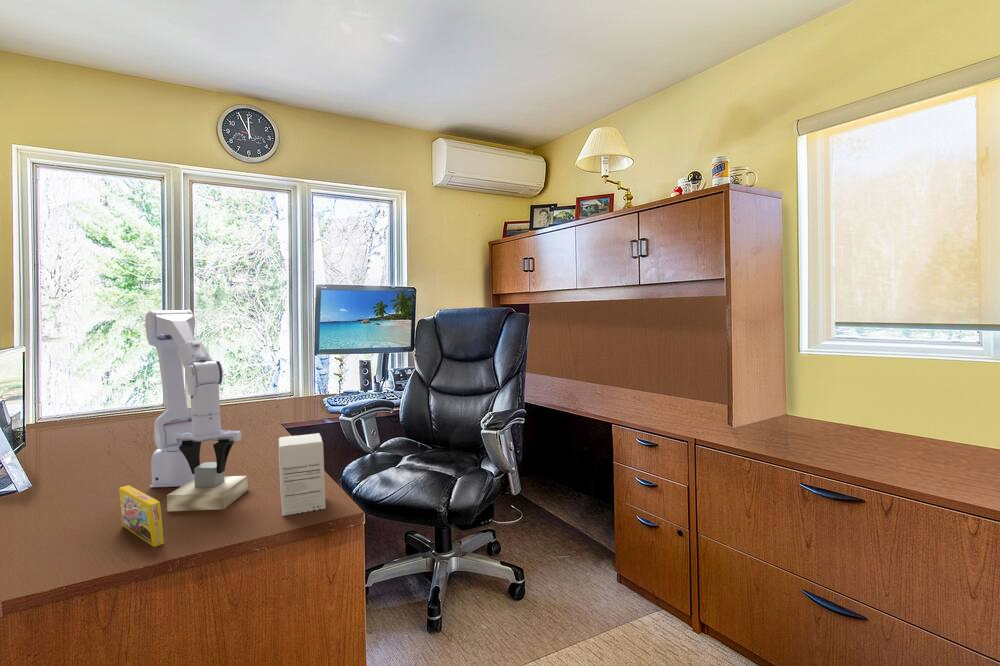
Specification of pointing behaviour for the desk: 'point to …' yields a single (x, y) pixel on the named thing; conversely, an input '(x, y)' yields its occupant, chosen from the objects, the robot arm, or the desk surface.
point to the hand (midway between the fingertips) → (208, 472)
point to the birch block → (207, 495)
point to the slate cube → (207, 475)
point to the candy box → (141, 515)
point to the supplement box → (301, 473)
